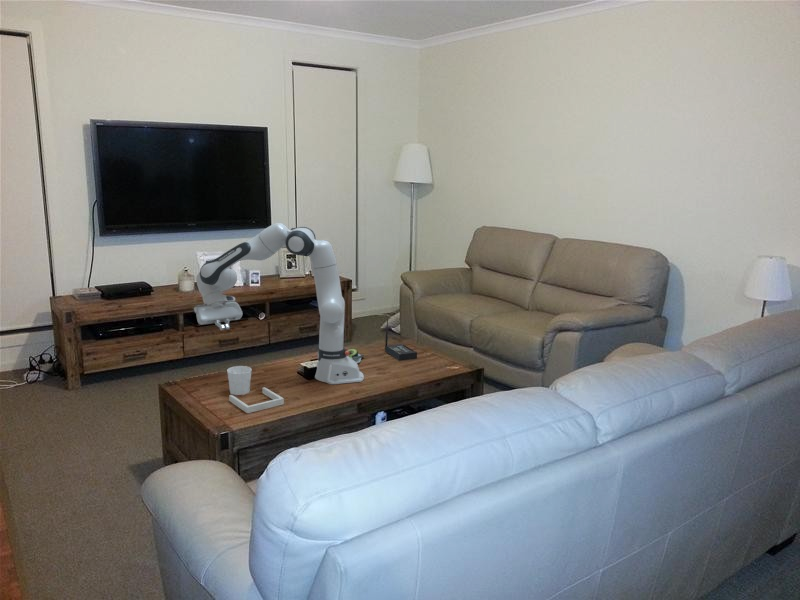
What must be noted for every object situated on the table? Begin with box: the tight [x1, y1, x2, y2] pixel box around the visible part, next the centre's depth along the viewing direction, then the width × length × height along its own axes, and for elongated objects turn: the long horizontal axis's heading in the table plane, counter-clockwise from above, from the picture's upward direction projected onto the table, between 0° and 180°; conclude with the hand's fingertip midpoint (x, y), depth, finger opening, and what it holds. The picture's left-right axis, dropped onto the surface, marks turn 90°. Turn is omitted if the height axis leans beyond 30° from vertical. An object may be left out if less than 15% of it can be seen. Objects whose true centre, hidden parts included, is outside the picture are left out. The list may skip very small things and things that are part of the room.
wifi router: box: [384, 319, 418, 362], centre depth 324 cm, size 20×14×17 cm
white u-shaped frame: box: [228, 386, 285, 414], centre depth 253 cm, size 15×16×2 cm
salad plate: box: [347, 348, 365, 365], centre depth 310 cm, size 19×18×5 cm
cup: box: [226, 365, 253, 397], centre depth 262 cm, size 10×10×10 cm
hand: (225, 329), depth 272 cm, fingers closed
